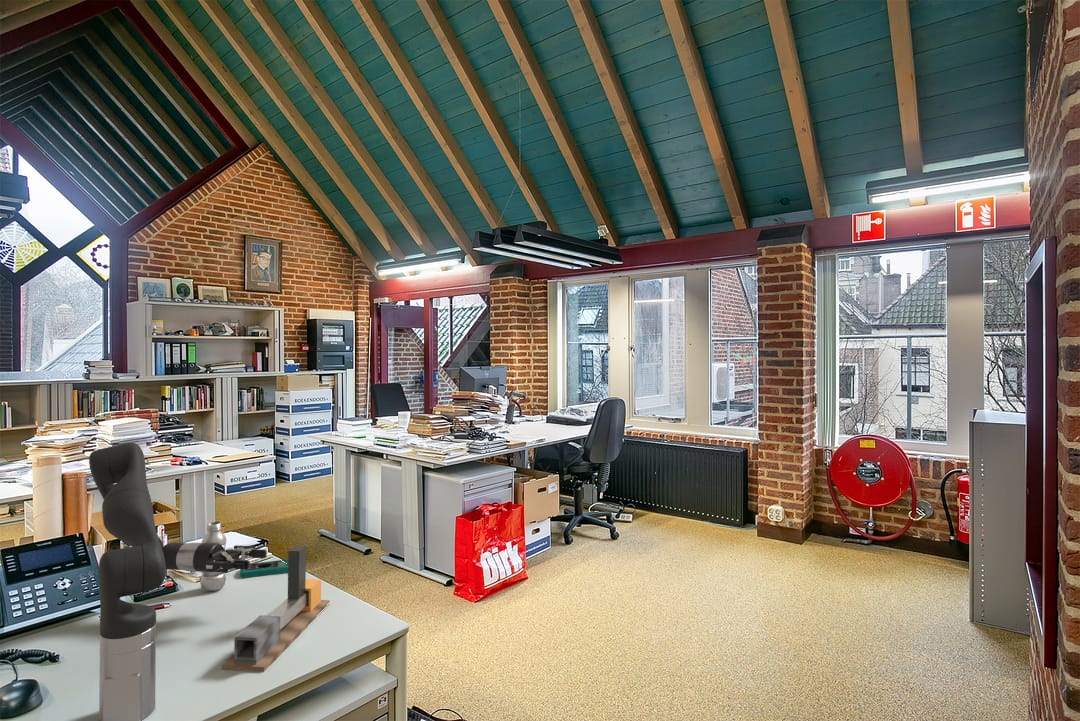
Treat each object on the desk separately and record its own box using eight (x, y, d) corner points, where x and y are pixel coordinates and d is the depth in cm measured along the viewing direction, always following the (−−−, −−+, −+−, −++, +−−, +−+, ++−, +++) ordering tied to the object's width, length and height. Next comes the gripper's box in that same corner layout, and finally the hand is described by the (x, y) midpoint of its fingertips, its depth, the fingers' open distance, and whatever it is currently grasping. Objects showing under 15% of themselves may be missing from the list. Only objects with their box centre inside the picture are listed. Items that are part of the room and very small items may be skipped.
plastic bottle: (201, 587, 180) (201, 521, 180) (226, 584, 183) (227, 519, 183) (199, 595, 174) (199, 527, 174) (225, 592, 177) (226, 525, 177)
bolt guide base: (263, 671, 135) (264, 640, 135) (221, 669, 136) (221, 638, 135) (329, 603, 171) (330, 579, 171) (295, 602, 171) (296, 577, 171)
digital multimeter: (240, 572, 194) (240, 563, 194) (290, 566, 200) (290, 557, 200) (239, 580, 187) (239, 571, 187) (290, 574, 193) (290, 565, 193)
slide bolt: (273, 636, 145) (274, 570, 145) (259, 635, 146) (260, 569, 145) (313, 598, 167) (313, 540, 167) (301, 598, 168) (302, 540, 167)
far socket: (310, 611, 163) (311, 588, 163) (290, 610, 164) (291, 587, 164) (320, 601, 170) (321, 579, 170) (301, 600, 170) (302, 578, 170)
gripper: (183, 552, 155) (243, 554, 154) (216, 535, 169) (271, 537, 168) (182, 580, 155) (242, 583, 154) (215, 561, 169) (271, 563, 168)
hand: (257, 559), depth 161 cm, fingers open, 8 cm apart
